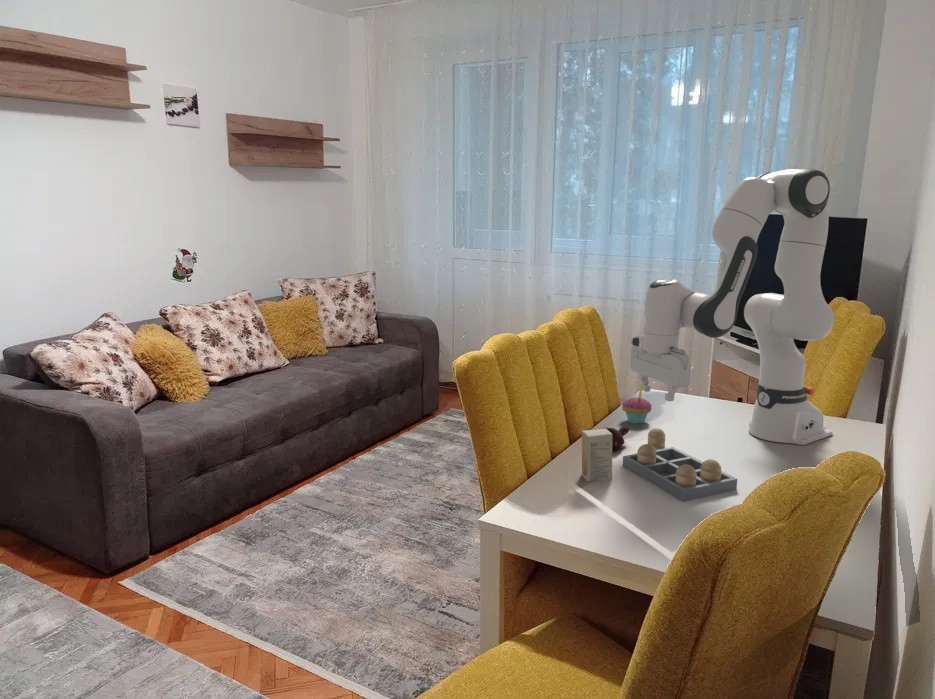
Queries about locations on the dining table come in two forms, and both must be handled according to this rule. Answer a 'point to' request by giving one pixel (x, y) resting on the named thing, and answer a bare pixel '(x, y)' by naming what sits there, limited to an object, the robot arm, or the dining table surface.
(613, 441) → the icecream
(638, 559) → the dining table surface
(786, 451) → the dining table surface
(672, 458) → the egg carton
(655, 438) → the wooden egg
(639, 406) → the cupcake
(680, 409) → the dining table surface
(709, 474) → the seated egg
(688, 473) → the seated egg
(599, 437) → the skincare box
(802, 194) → the robot arm
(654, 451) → the seated egg
